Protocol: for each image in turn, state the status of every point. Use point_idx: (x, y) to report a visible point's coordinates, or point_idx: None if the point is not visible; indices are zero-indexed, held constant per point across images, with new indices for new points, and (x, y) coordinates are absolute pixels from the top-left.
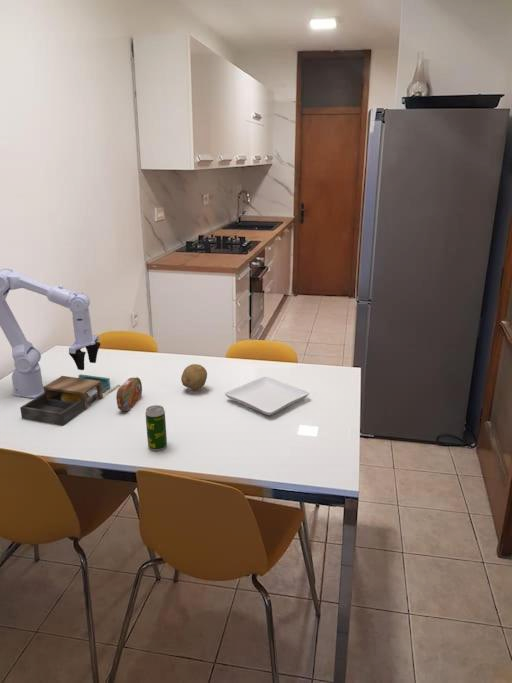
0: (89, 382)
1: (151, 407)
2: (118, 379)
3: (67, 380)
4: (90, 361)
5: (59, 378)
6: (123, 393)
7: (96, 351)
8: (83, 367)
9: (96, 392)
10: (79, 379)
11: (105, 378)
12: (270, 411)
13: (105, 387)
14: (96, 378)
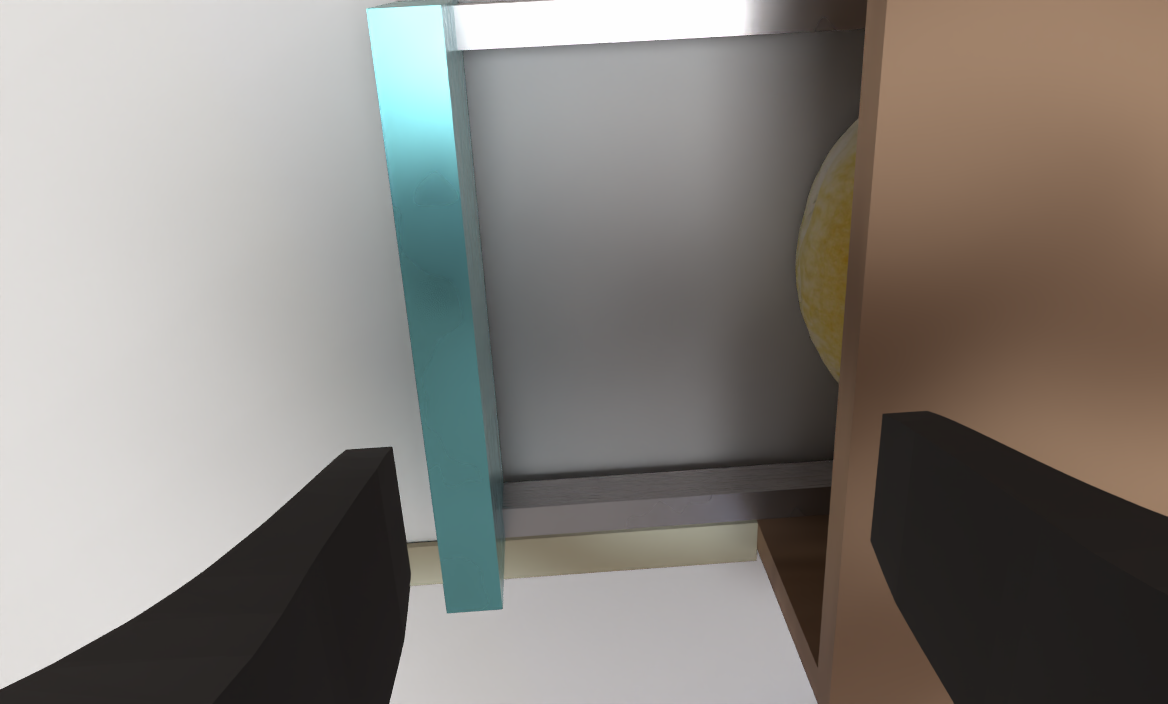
0: (1027, 68)
1: None
2: (15, 112)
3: None
4: (406, 576)
5: (945, 694)
6: None
7: (233, 622)
8: (951, 430)
9: (775, 24)
10: (915, 373)
11: (413, 85)
12: None
13: (533, 4)
14: (469, 270)
